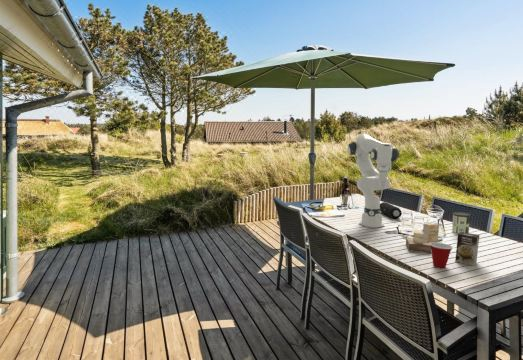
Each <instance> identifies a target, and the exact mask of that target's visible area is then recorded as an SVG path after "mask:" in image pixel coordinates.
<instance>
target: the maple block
mask: <svg viewBox="0 0 523 360" xmlns="http://www.w3.org/2000/svg"><path fill="white" fill-rule="evenodd" d="M412 238H413V241H414V242H416V243H423V230H413V236H412Z"/></svg>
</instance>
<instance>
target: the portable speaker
mask: <svg viewBox="0 0 523 360" xmlns="http://www.w3.org/2000/svg"><path fill="white" fill-rule="evenodd" d="M380 213H383V214H385V215H386V216H388V217H389V218H392V219H400V218H401V216H402V215H403V214H402V213H403V212H402V210H401V209H400V208H399V207H398V206H395V205H393V204H391V203H389V202H386V201H385V202H380Z"/></svg>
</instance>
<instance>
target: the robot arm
mask: <svg viewBox="0 0 523 360" xmlns="http://www.w3.org/2000/svg"><path fill="white" fill-rule="evenodd" d="M347 152H348V154H349V155H350V156H355V155H356V158H355V160H356V164H357V168H358V169H359V172H360V174H361V175H362V177H361V176H360V177H359V178H358V179H357V181H356V187H357V188H358V189H359V190H360V192H362V195H363V196H364V208H363V212H362V213H361V220H360V221H359V222H358V224H359V225H362V226H363V227H366V228H373V229H374V228H381V227H383V228H385V224H384V223H383V215H382V214H381V211H380V204H381V197H379V196H378V195H377V194H375V191H383V190H387V189H389V187H390V185H391V181H390V179H389V177H388V174H389V173H390V171H392V163H395V162H396V161H397V160H398V158H399V157H400V152H399V150H398V149H397V148H396V147H395V146H394V147H392V144H391V143H388V142H381V141H380V140H377V139H375V138H374V137H372V136H370V135H369V134H367V133H360V134H359V135H358V136H357V138H356V141H352V142H349V143H348V144H347ZM372 161H373V162H377V163H376V168H375V166H374V163H373V162H372Z"/></svg>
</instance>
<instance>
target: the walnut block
mask: <svg viewBox="0 0 523 360" xmlns="http://www.w3.org/2000/svg"><path fill="white" fill-rule="evenodd" d="M405 245H406V249H407V250H408V252H414V251H417V252H416V253H427V254H428V253H429V254H432V252H431V246H430V243H429V241H428V240H427V239H423V243H416V242H414V241H413V237H406V238H405Z"/></svg>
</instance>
